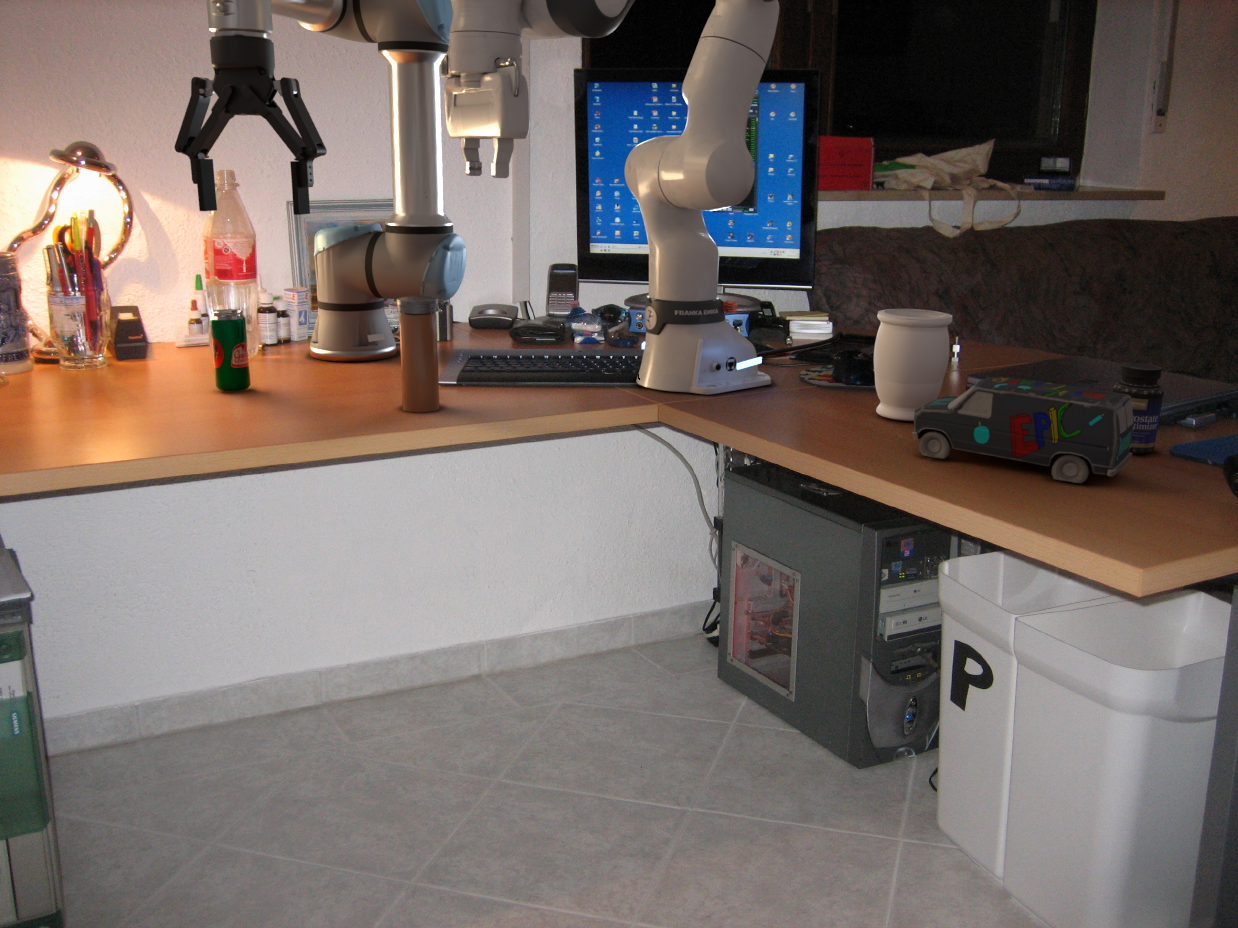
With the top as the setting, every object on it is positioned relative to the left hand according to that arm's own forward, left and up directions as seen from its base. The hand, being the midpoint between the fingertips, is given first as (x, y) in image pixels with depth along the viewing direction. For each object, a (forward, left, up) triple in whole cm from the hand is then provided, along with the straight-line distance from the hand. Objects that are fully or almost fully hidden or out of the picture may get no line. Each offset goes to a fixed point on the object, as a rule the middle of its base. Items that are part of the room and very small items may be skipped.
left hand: (254, 213), depth 138 cm
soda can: (-16, -16, -28) cm, 36 cm away
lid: (-14, +16, -12) cm, 25 cm away
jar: (-32, +84, -28) cm, 94 cm away
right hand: (-6, +30, +5) cm, 31 cm away
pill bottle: (-23, +113, -28) cm, 118 cm away
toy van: (-11, +98, -28) cm, 102 cm away
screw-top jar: (-14, +16, -28) cm, 35 cm away
